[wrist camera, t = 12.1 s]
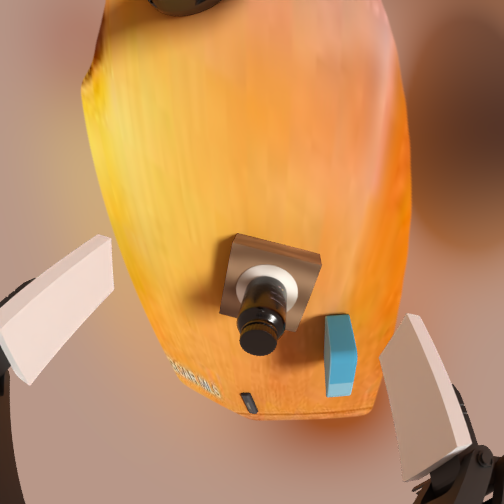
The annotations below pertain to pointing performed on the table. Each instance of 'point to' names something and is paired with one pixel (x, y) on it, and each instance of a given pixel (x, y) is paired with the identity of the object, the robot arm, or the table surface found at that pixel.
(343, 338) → the light-blue rounded block
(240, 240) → the base
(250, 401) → the usb stick
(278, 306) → the supplement bottle
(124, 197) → the table surface
